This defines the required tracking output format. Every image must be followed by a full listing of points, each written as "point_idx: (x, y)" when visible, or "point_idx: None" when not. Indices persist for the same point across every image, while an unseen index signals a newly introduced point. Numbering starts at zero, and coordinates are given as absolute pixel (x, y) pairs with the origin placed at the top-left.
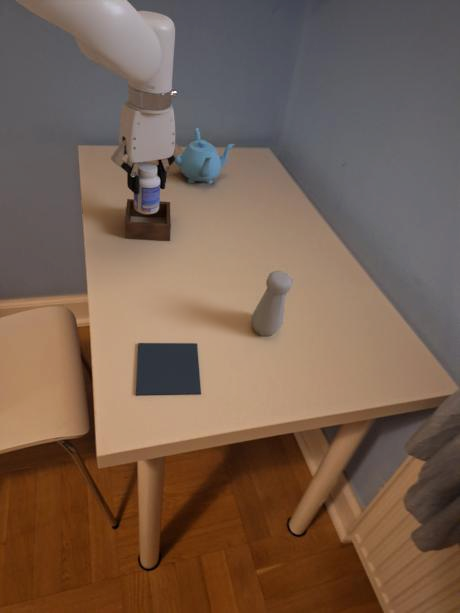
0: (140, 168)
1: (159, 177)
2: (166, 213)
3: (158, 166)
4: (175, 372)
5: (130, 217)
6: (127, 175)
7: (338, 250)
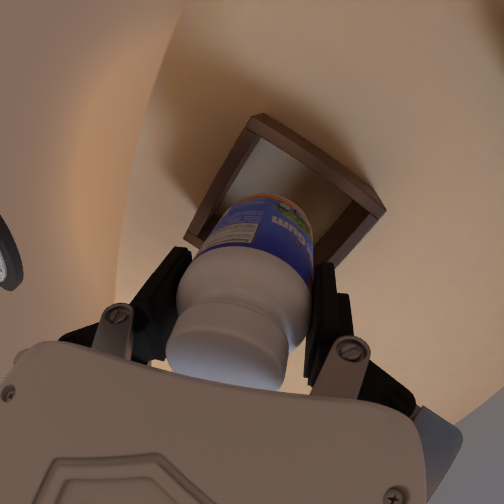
0: (174, 367)
1: (301, 341)
2: (341, 236)
3: (317, 355)
4: None
5: (250, 152)
6: (131, 303)
7: (488, 396)
